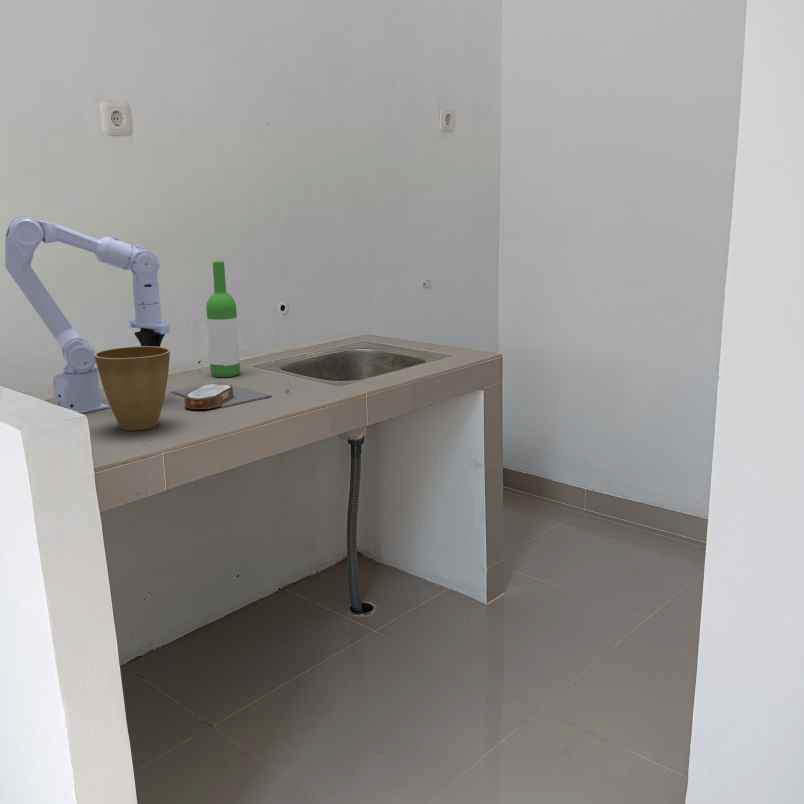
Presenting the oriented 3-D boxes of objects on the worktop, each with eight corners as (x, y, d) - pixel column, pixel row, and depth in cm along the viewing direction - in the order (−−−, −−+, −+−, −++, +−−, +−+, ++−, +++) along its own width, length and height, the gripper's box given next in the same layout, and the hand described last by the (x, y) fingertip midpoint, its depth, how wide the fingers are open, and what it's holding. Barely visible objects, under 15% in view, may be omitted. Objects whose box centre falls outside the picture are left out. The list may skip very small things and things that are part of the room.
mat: (222, 407, 196) (221, 406, 195) (171, 392, 211) (170, 391, 211) (271, 396, 205) (271, 395, 205) (219, 383, 220) (219, 381, 220)
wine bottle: (217, 371, 234) (209, 260, 226) (244, 372, 233) (238, 260, 225) (206, 378, 226) (198, 262, 219) (234, 378, 225) (227, 262, 218)
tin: (178, 408, 194) (213, 412, 192) (177, 394, 193) (213, 398, 191) (206, 393, 208) (239, 396, 207) (206, 380, 207) (239, 384, 206)
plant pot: (184, 429, 179) (178, 353, 175) (110, 440, 172) (103, 361, 168) (164, 413, 191) (159, 342, 188) (95, 423, 184) (87, 349, 180)
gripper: (179, 303, 196) (183, 362, 199) (147, 298, 206) (151, 354, 209) (151, 307, 191) (156, 367, 194) (119, 301, 201) (124, 359, 204)
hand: (152, 361), depth 201 cm, fingers closed
